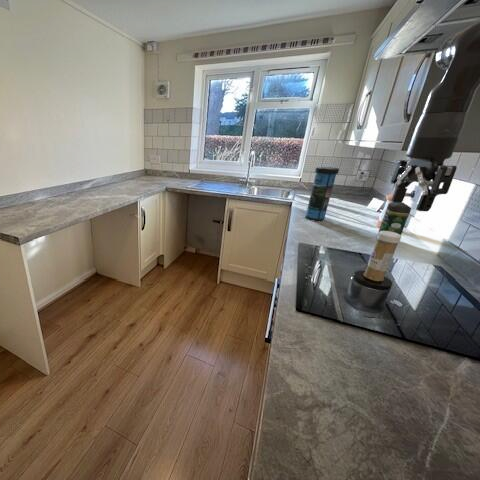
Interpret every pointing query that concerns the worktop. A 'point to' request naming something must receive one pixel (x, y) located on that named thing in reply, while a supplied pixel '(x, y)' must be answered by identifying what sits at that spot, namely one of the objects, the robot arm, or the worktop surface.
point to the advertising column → (321, 193)
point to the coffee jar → (395, 217)
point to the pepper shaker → (384, 210)
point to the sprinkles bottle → (382, 255)
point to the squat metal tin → (368, 293)
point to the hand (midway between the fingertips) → (408, 206)
